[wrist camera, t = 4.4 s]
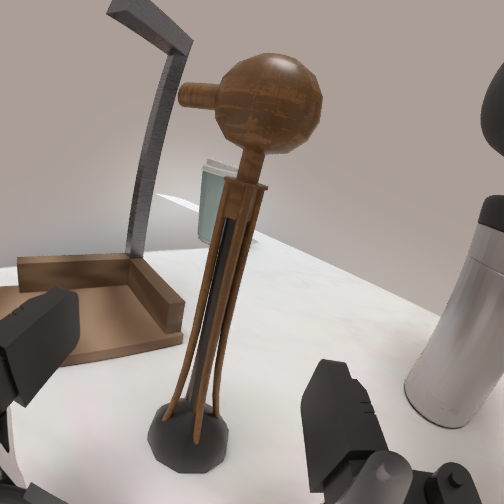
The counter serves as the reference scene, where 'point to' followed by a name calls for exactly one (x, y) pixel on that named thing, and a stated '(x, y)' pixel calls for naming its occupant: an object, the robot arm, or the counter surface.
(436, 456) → the counter surface
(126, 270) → the stand
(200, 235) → the disposable coffee cup
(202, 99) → the wooden tabletop sculpture
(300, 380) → the counter surface
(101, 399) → the counter surface
